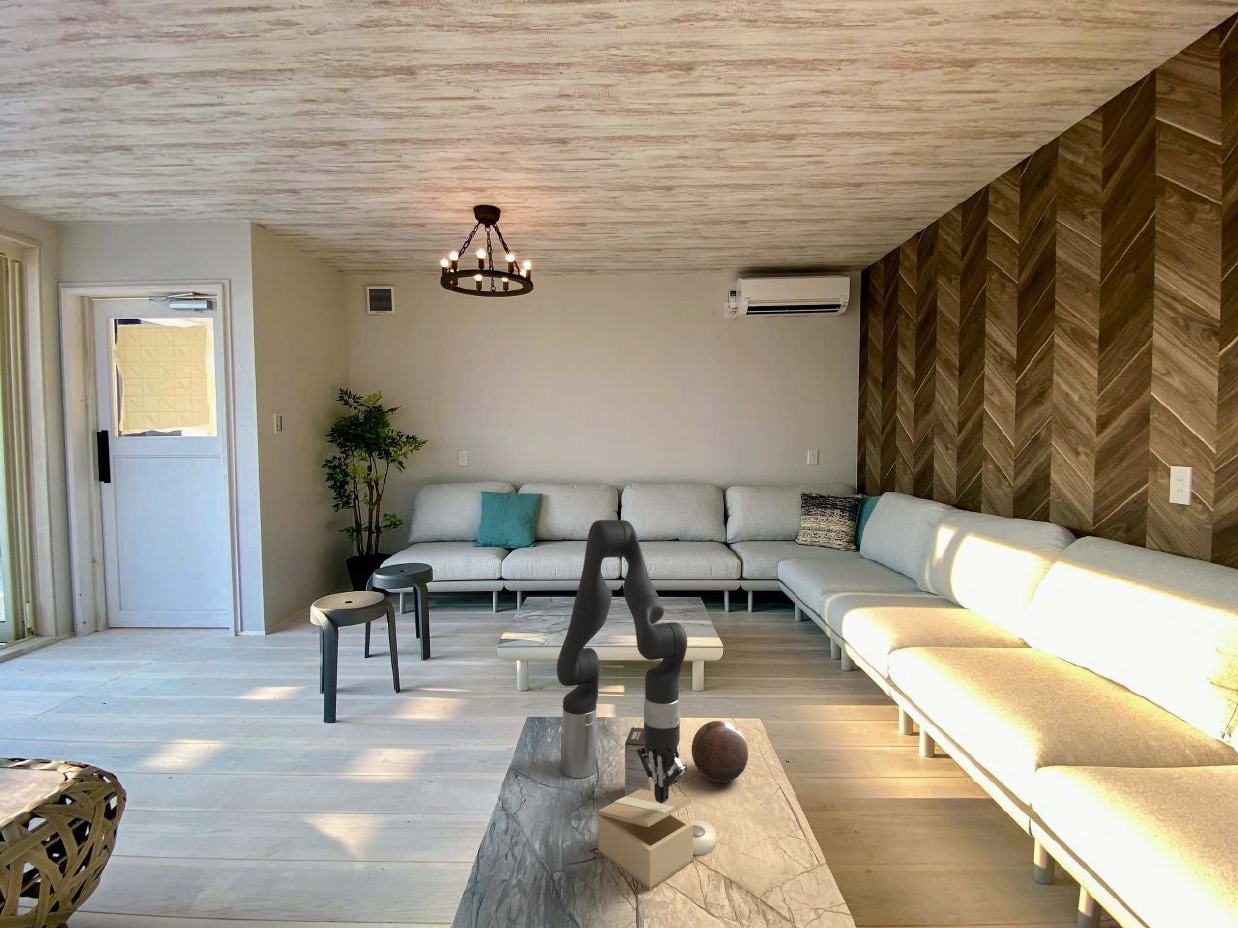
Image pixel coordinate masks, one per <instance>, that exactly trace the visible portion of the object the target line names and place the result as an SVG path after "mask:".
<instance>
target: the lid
mask: <svg viewBox="0 0 1238 928" xmlns="http://www.w3.org/2000/svg"><path fill="white" fill-rule="evenodd" d="M691 803H692V799H691V798H689V797H683V796H680V795H679V796H678V795H672V794H669V798H668V800H667V801H666V802H664V803H662V804H660V803H659V802H657V801H656V800H655V795H654V792H653V791H648V790H642V789H640V790H638V791H636V792H634V793H632V794H630V795H628V796H625V795H624V796H623V797H621V798H619V799H616V800H615V801H613V802H611V804H608V805H606V806H604V807H602V808H600V809H598V810H597V815H602V816H606V817H610V818H614V819H618V820H622V821H626V822H630V823H634V824H638V825H642V826H646V827H649V826H651V825H653V824H655V823H656V822H658V821H660V820H662V819H663V818H665V817H667V816H669V815H670V814H672V813H674V814H675V813H676V812H677V811H679V810H681V809H683V808H684V807H686V806H688V805H689V804H691Z"/></svg>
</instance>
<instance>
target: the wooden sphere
mask: <svg viewBox="0 0 1238 928" xmlns="http://www.w3.org/2000/svg"><path fill="white" fill-rule="evenodd" d="M747 744H748V743H747V741H746V739H745V736H744V735H743V733H742V732H741V731H740V730H739V729H738V728H737V727H736V726H735V725H733V724H732V723H729V722H727V721H722V720H713V721H709V722H707V723H705V724H703V725H702V726H701V727H700V728H699V729H698V730H697V731H696V733H695V734H694V736H693V739H692V743H691V757H692V761H693V763H694V765H695V767H696V769H697V771H699V773H700V774H701V775H702V776H704V777H705V778H706V779H707V780H710V781H712V782H715V783H729V782H731V781H734V780H736V779H737V778H738V777H740V776H741V774H742V773H744V770H745V768H746V766H747V764H748V760H749V748H748V745H747Z"/></svg>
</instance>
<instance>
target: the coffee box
mask: <svg viewBox="0 0 1238 928" xmlns="http://www.w3.org/2000/svg"><path fill="white" fill-rule="evenodd" d="M629 730H630V731H629V733H628V735H627V737H626V740H625V742H624V797H625V796H628V795H630V794H632V793H634V792H636V791H638V790H640V789H642V790H648V791H653V792H654V782H653V779H652V778H651V777H648V776H647V774H646V771H645V769H644V767H643V764H642V762H641V759H640V757H639V755H638V752H637V750H638V749H639V748H642V747H644V746H645V741H644V727H630V729H629ZM648 765H649V767H650V764H648Z"/></svg>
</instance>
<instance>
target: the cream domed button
mask: <svg viewBox="0 0 1238 928" xmlns="http://www.w3.org/2000/svg"><path fill="white" fill-rule="evenodd" d="M685 820H686V819H685ZM686 821H688V822H689V823H691V824H693V856H703V855H708V854H710V853H712V852H713V851H714V850H715V848H716V846H717V843H716V842H717V841H716V840H717V838H716V837H717V832H716V830H715V827H714V826H713V825H711V824H710V823H708V822H706V821H704V820H702V819H701V820H700V819H687V820H686Z"/></svg>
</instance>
